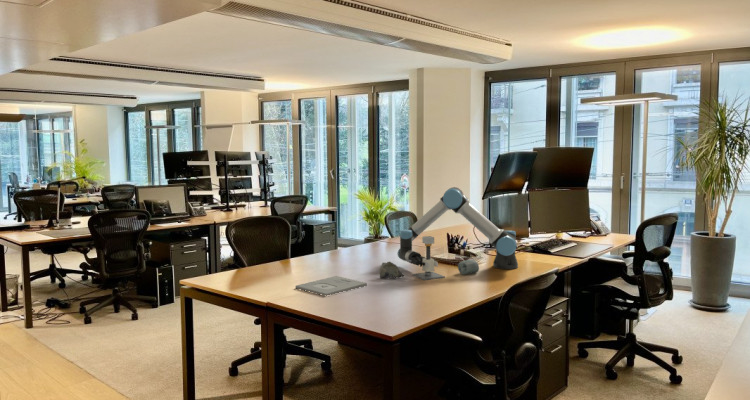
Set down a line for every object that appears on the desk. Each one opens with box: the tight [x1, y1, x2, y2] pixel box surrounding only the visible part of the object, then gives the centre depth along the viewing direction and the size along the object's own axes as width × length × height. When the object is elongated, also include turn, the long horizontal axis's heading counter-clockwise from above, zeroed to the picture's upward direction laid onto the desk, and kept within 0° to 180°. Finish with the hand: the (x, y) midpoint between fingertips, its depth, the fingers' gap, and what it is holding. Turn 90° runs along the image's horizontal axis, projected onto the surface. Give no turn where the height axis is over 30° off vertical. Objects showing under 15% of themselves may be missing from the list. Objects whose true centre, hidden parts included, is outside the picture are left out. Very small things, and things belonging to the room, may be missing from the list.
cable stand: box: [411, 235, 446, 281], centre depth 330 cm, size 14×14×23 cm
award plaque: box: [295, 275, 368, 296], centre depth 308 cm, size 25×30×2 cm
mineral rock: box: [379, 261, 405, 280], centre depth 326 cm, size 13×11×10 cm
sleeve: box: [421, 257, 435, 273], centre depth 331 cm, size 5×5×7 cm
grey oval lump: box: [457, 259, 480, 276], centre depth 338 cm, size 14×10×10 cm
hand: (432, 264), depth 326 cm, fingers closed on sleeve, 5 cm apart
